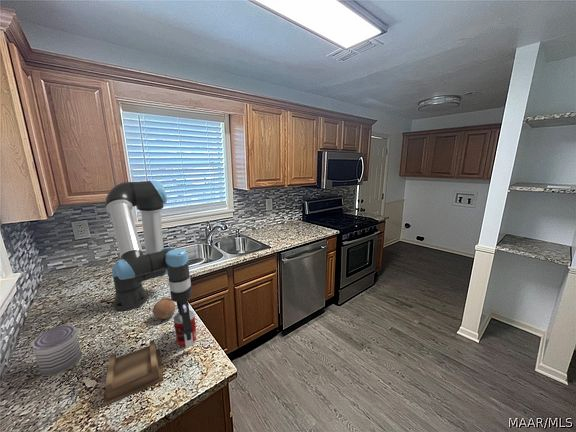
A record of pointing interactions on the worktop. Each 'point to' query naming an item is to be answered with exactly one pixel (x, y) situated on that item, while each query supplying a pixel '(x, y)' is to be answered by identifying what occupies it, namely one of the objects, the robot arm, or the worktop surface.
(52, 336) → the can
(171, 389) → the worktop surface
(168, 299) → the onion
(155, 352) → the brown square tray
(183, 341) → the canned food
